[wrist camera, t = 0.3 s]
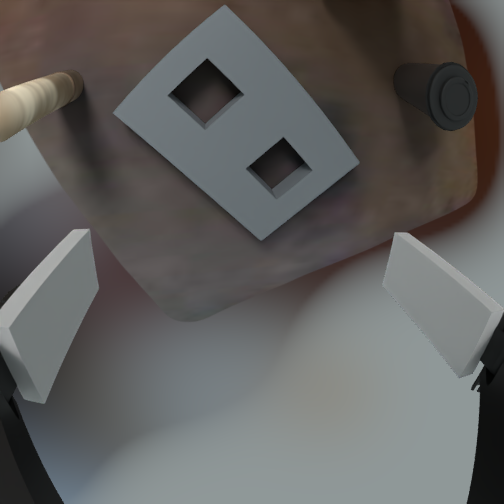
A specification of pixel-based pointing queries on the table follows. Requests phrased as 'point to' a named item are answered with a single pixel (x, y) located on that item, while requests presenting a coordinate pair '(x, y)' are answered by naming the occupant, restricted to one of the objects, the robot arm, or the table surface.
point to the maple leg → (36, 100)
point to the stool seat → (238, 125)
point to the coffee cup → (439, 92)
